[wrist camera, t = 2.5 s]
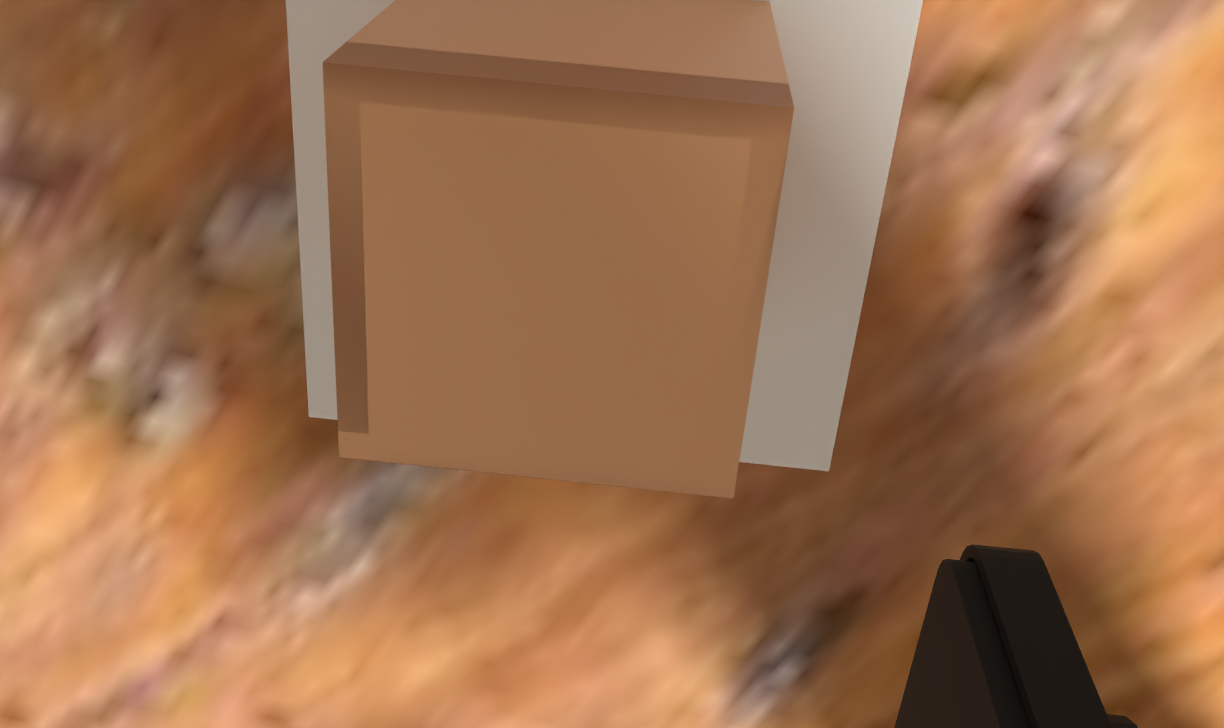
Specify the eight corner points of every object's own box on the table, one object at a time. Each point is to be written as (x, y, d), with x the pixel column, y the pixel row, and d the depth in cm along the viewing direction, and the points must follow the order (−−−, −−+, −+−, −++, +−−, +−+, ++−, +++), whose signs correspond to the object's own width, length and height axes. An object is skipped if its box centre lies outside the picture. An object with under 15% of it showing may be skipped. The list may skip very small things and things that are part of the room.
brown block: (769, 2, 22) (794, 108, 16) (727, 309, 25) (733, 498, 19) (430, -31, 22) (322, 62, 16) (429, 279, 25) (338, 457, 19)
